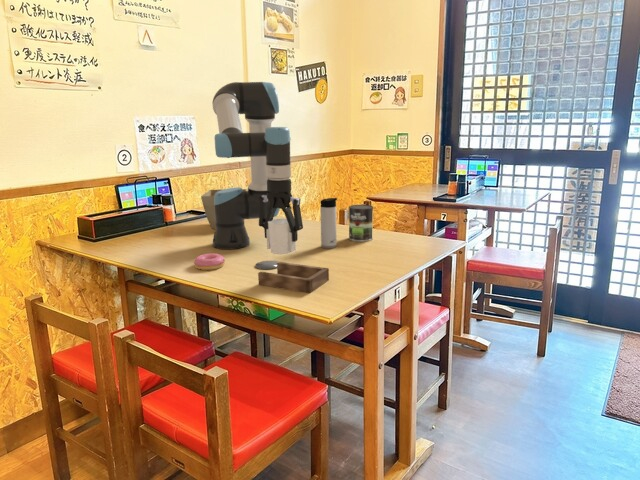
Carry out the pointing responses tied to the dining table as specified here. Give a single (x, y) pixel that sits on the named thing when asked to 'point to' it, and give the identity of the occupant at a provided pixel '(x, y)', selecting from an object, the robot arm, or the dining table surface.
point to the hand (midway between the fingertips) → (281, 249)
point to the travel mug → (328, 223)
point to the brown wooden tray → (295, 277)
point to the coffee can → (360, 223)
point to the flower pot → (211, 206)
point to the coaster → (267, 265)
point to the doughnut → (209, 261)
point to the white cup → (279, 236)
